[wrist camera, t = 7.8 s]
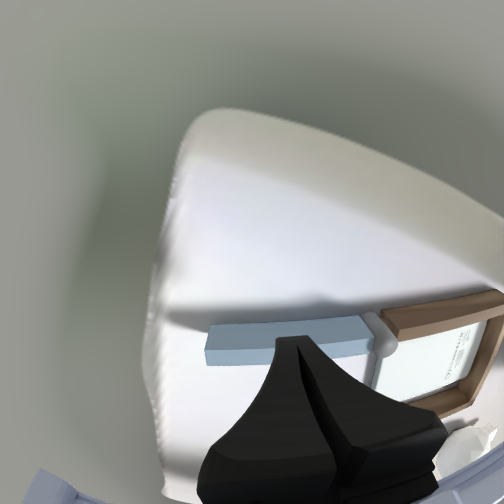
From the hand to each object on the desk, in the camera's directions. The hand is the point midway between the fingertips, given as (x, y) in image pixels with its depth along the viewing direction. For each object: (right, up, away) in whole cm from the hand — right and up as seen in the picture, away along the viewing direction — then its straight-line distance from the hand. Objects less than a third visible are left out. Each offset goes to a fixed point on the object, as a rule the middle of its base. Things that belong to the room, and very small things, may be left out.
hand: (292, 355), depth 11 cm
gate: (+2, -1, +7) cm, 8 cm away
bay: (+14, -6, +9) cm, 18 cm away
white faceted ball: (+30, -24, +14) cm, 41 cm away
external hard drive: (+15, -5, +10) cm, 19 cm away
